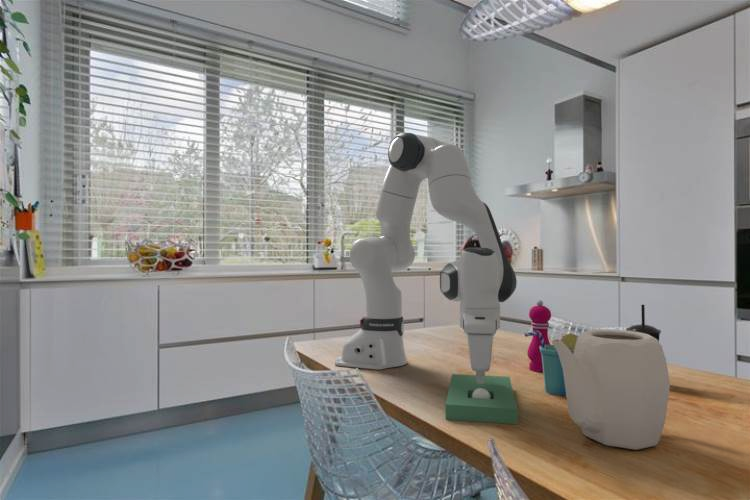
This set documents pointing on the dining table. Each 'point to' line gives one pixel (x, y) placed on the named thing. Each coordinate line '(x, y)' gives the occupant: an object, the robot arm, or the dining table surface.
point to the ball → (481, 394)
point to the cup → (554, 363)
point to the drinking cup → (645, 327)
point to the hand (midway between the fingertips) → (480, 381)
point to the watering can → (616, 386)
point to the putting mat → (481, 400)
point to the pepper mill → (539, 323)
